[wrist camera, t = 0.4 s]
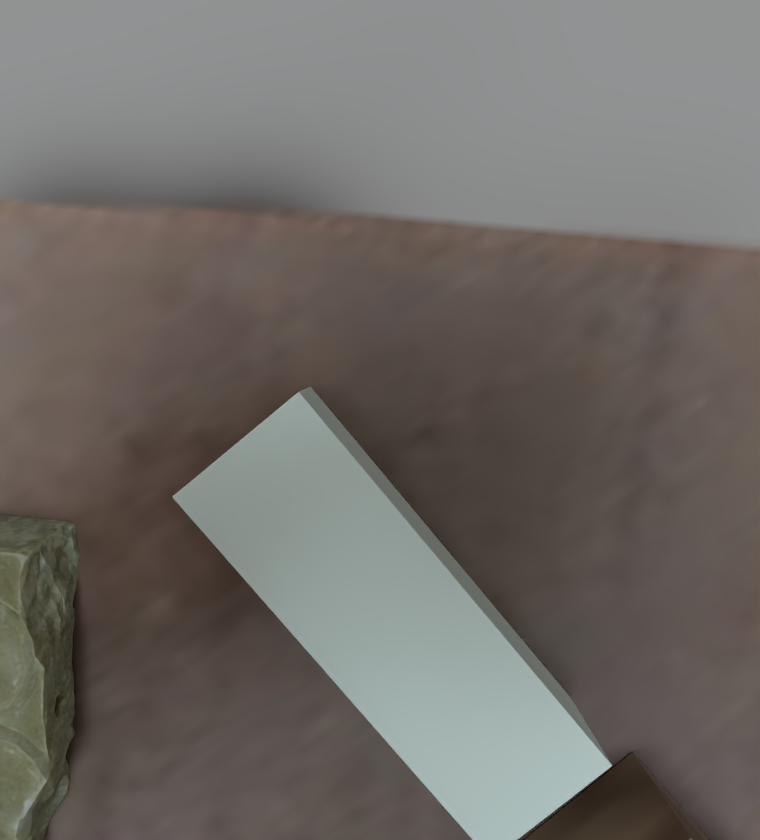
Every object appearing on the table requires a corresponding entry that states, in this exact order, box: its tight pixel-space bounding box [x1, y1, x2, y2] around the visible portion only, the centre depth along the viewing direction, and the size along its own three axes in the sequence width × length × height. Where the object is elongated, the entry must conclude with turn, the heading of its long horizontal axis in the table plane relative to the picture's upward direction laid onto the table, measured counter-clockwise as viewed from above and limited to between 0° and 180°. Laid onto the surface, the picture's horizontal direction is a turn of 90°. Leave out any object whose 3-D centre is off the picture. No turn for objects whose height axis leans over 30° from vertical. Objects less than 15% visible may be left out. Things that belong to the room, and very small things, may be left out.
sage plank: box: [173, 387, 612, 840], centre depth 20 cm, size 14×4×4 cm, turn 39°
